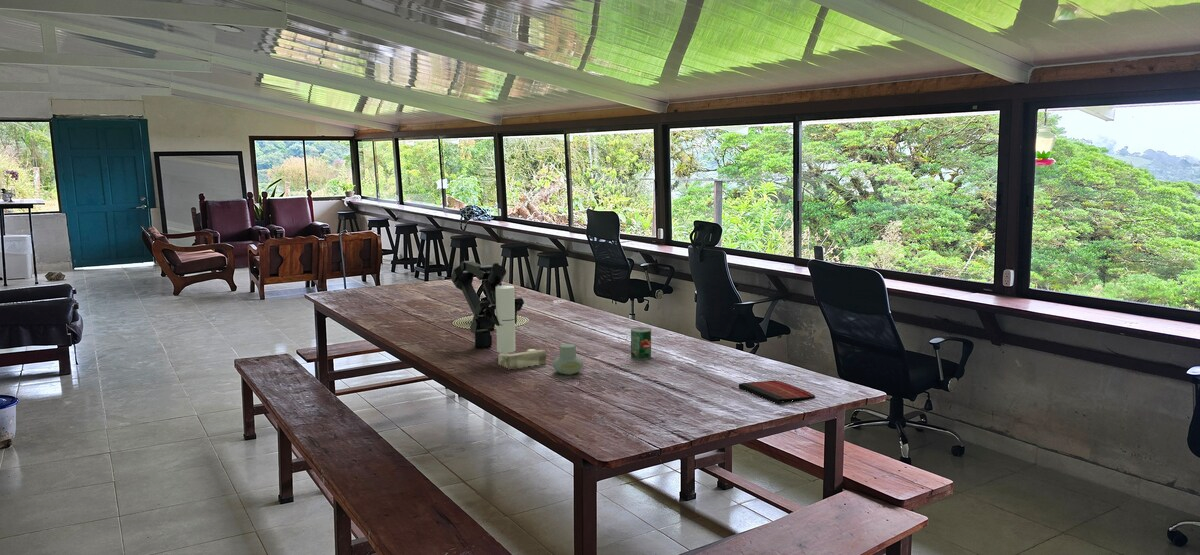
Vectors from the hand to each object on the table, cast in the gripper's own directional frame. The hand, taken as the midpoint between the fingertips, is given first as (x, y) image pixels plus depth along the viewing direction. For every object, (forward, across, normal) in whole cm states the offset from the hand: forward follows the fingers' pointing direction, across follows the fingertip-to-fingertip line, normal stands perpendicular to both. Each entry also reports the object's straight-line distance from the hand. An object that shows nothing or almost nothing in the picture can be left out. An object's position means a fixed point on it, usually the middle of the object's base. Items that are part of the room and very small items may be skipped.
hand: (507, 324), depth 316 cm
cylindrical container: (+7, 0, +9) cm, 11 cm away
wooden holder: (+18, 0, +1) cm, 18 cm away
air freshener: (+32, +8, -13) cm, 35 cm away
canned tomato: (+30, +43, -11) cm, 53 cm away
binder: (+75, +52, -56) cm, 107 cm away
